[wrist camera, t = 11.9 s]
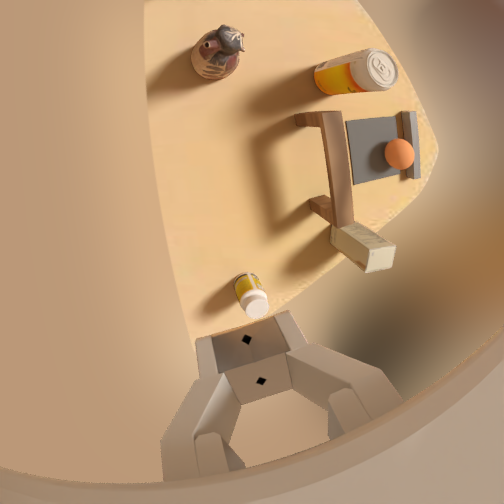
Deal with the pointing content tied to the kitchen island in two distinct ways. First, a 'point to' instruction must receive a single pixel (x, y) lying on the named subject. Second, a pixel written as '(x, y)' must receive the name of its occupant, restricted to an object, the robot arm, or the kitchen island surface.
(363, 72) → the beer can
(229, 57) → the figurine
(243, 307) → the supplement bottle
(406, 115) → the stopper
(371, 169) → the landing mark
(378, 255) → the skincare box
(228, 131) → the kitchen island surface
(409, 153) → the ball
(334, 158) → the bridge
